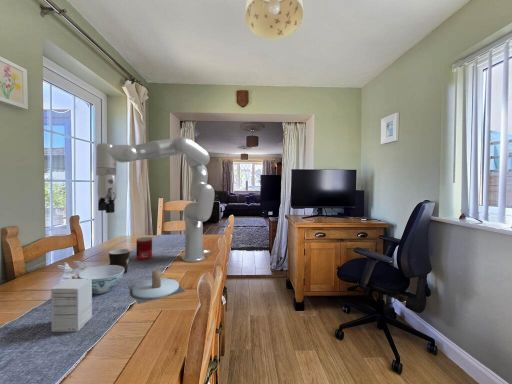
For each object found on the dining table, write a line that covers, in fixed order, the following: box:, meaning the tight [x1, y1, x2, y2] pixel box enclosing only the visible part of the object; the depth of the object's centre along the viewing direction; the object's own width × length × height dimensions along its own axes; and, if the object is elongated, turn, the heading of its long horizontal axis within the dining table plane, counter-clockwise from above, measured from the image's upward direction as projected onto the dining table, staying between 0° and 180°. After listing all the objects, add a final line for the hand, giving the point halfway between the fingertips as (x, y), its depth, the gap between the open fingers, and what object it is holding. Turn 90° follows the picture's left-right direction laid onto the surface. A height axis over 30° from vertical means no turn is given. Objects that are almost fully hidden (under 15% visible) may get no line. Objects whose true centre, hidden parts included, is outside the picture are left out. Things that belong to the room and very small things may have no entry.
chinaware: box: [78, 265, 125, 295], centre depth 97 cm, size 15×15×8 cm
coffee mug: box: [108, 248, 131, 275], centre depth 118 cm, size 12×9×10 cm
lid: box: [131, 269, 180, 300], centre depth 99 cm, size 17×17×7 cm
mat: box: [128, 277, 187, 304], centre depth 99 cm, size 17×17×1 cm
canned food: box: [135, 236, 153, 261], centre depth 139 cm, size 8×8×11 cm
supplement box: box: [50, 278, 93, 333], centre depth 74 cm, size 7×7×13 cm
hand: (106, 211), depth 109 cm, fingers open, 9 cm apart
